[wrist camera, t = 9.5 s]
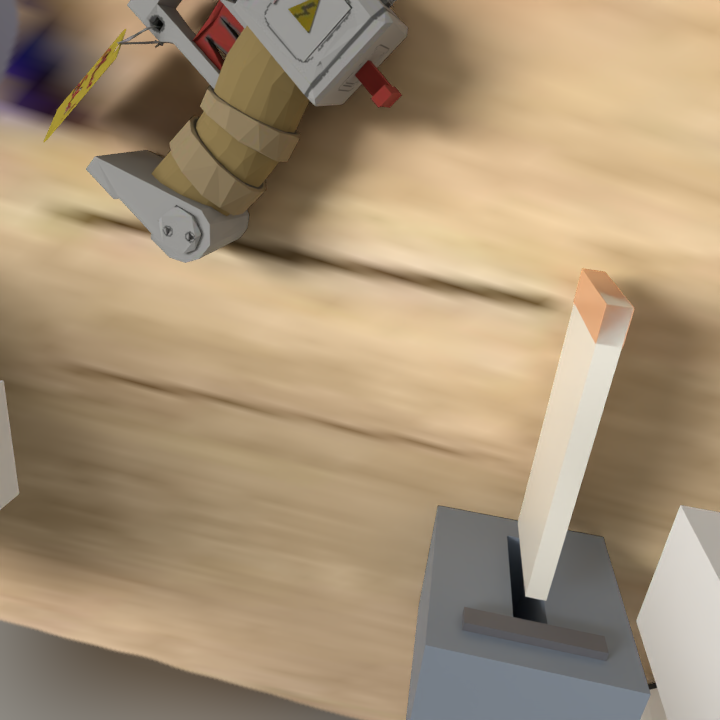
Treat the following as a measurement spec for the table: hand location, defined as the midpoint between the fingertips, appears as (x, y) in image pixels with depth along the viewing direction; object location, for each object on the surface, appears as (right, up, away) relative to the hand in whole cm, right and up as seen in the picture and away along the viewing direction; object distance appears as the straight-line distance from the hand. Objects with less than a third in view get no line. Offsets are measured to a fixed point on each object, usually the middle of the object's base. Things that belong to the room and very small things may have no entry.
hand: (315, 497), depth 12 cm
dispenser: (+12, -14, +35) cm, 39 cm away
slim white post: (+13, 0, +27) cm, 30 cm away
